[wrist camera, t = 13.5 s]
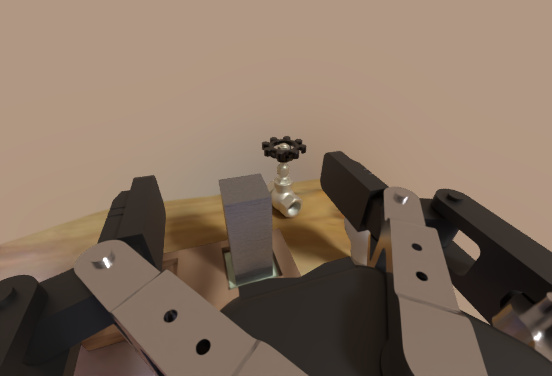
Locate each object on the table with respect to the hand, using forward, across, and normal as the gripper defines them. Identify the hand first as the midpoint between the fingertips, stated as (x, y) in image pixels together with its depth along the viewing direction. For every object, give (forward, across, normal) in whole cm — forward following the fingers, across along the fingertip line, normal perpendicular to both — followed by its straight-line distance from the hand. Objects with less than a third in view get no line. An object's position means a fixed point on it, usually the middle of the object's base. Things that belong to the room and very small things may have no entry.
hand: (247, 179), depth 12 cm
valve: (+21, -10, +21) cm, 31 cm away
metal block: (+10, -2, +20) cm, 22 cm away
